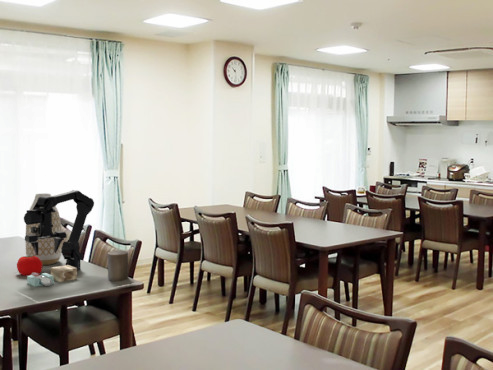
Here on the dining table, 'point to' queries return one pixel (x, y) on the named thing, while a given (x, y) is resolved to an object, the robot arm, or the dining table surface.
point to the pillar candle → (117, 265)
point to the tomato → (29, 265)
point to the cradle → (35, 281)
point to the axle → (43, 279)
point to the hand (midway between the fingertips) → (46, 253)
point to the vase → (47, 244)
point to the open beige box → (64, 273)
